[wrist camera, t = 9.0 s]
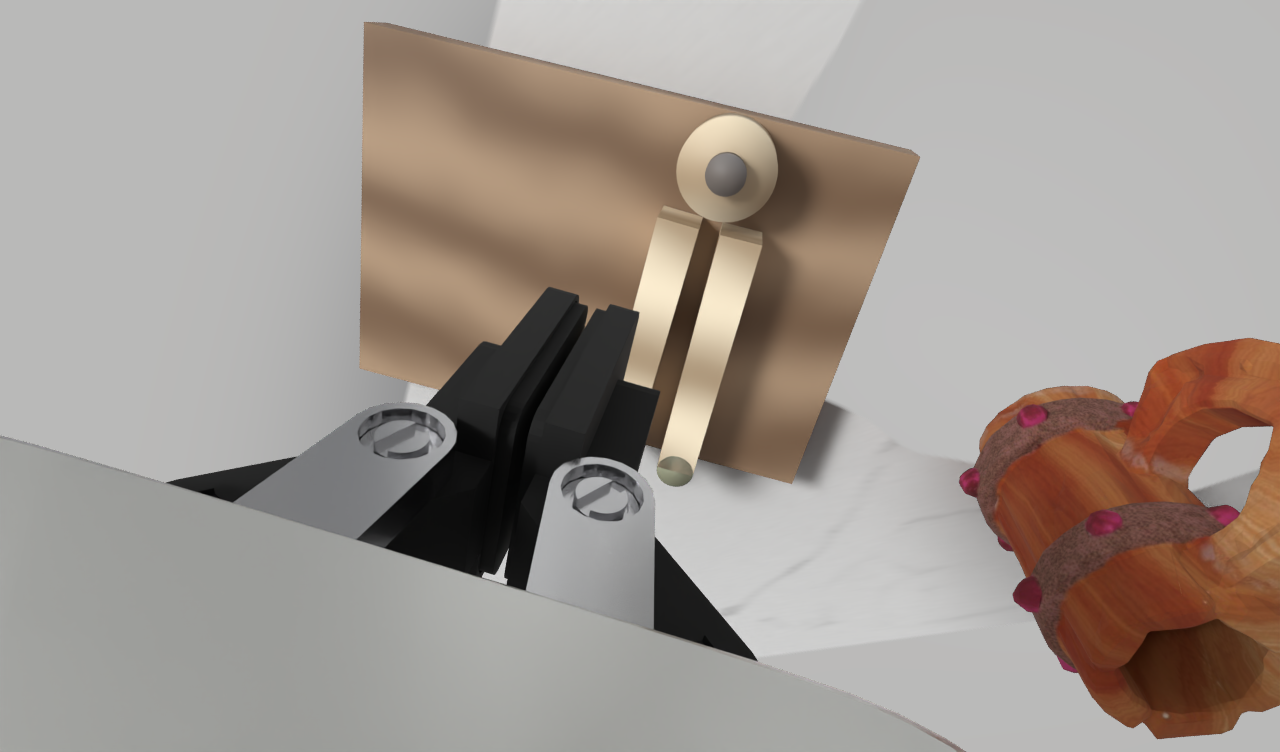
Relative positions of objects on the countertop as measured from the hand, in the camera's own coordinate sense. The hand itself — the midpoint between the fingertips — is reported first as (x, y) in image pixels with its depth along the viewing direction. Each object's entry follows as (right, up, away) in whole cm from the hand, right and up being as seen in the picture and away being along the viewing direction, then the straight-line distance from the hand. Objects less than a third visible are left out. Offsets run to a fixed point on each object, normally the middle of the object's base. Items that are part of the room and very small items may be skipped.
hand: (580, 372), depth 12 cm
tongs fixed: (+4, +3, +20) cm, 20 cm away
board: (0, +6, +22) cm, 22 cm away
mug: (+23, -1, +21) cm, 31 cm away
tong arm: (+3, +3, +20) cm, 20 cm away
